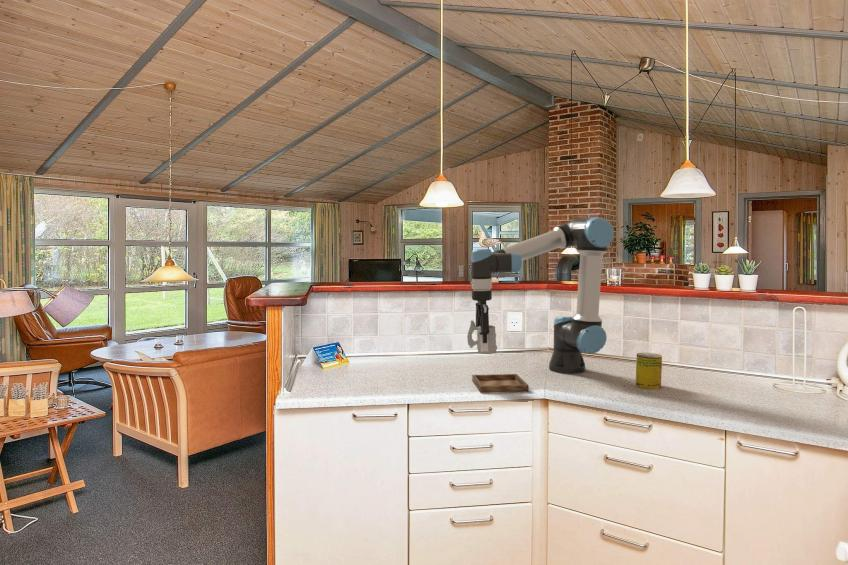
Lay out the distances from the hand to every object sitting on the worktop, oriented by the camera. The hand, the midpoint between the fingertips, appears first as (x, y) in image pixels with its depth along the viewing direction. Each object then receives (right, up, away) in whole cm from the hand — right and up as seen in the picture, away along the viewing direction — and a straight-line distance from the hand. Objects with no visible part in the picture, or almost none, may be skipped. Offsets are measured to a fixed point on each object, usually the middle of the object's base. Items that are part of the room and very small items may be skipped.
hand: (482, 348), depth 212 cm
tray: (+6, -14, 0) cm, 16 cm away
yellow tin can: (+64, -14, 0) cm, 65 cm away
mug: (0, -1, +1) cm, 2 cm away
